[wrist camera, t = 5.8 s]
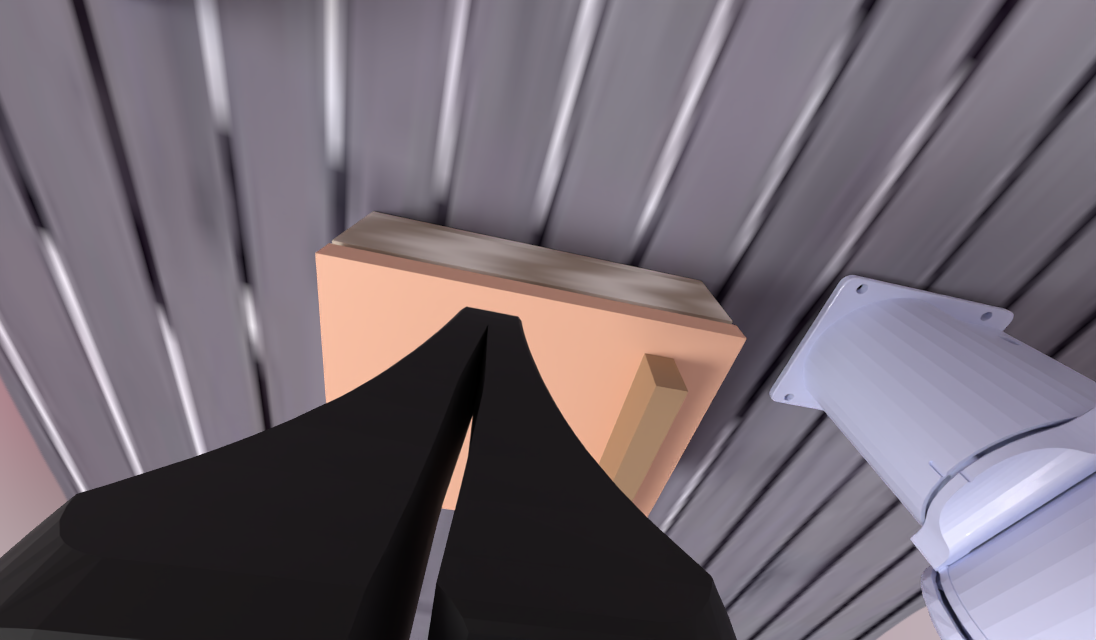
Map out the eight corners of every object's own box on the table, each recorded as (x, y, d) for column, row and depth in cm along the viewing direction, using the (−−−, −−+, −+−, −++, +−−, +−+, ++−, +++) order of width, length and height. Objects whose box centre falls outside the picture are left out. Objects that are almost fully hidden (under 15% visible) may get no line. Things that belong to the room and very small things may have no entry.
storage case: (701, 280, 20) (732, 321, 17) (621, 457, 26) (632, 513, 23) (373, 211, 18) (332, 240, 15) (372, 417, 25) (343, 471, 21)
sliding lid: (736, 325, 16) (771, 370, 14) (634, 518, 23) (644, 574, 20) (329, 243, 15) (281, 276, 12) (341, 476, 21) (312, 531, 19)
